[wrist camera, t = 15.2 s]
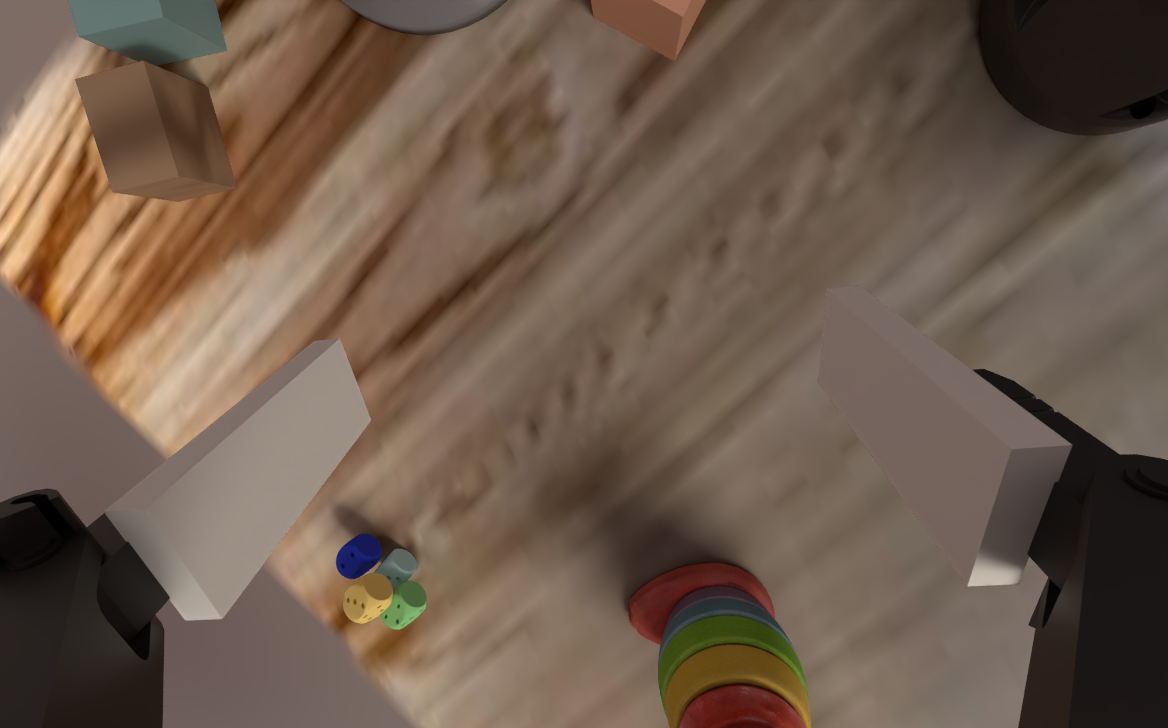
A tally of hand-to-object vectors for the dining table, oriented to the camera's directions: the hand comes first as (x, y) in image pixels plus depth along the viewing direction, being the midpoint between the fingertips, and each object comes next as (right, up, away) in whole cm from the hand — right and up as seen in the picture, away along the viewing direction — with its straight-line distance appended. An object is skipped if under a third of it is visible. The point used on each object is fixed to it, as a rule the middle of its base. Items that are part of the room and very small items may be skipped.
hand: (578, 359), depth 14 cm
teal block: (-28, +24, +22) cm, 43 cm away
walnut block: (-29, +16, +23) cm, 40 cm away
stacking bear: (+10, -20, +26) cm, 35 cm away
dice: (-15, -16, +28) cm, 36 cm away
